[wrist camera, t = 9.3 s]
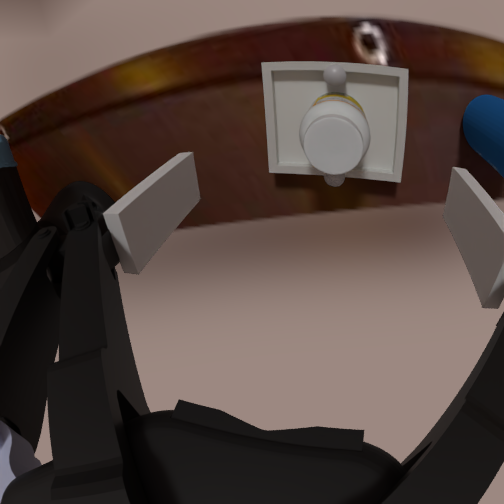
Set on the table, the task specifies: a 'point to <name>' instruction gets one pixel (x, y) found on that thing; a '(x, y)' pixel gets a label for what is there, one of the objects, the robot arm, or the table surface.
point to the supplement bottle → (335, 133)
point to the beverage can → (486, 129)
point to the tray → (345, 81)
